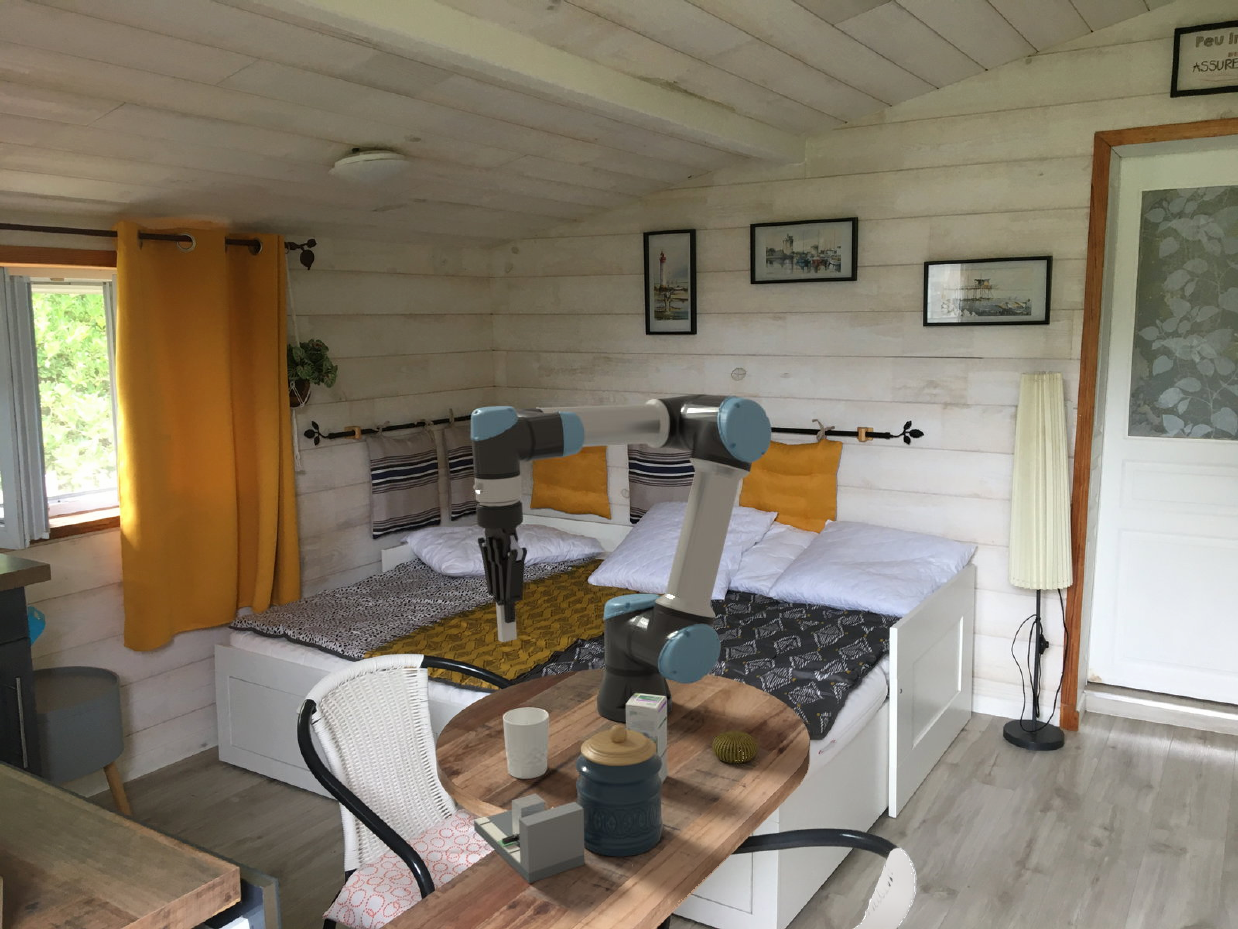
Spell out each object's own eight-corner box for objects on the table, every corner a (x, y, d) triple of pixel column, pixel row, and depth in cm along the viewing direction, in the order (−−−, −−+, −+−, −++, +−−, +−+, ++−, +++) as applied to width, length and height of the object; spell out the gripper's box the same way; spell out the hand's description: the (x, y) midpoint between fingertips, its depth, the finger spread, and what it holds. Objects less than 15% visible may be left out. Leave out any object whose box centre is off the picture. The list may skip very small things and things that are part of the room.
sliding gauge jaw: (498, 841, 150) (497, 804, 149) (536, 829, 153) (535, 793, 152) (507, 850, 147) (506, 812, 146) (546, 837, 151) (545, 801, 150)
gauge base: (474, 830, 157) (472, 778, 155) (526, 814, 161) (525, 763, 160) (529, 883, 142) (527, 826, 140) (584, 864, 146) (583, 808, 145)
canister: (559, 839, 154) (556, 727, 151) (616, 807, 163) (614, 702, 161) (623, 869, 145) (621, 751, 143) (680, 834, 155) (679, 723, 152)
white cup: (543, 782, 173) (541, 726, 171) (498, 779, 174) (496, 723, 173) (555, 762, 180) (553, 708, 179) (512, 759, 182) (510, 706, 180)
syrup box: (668, 775, 174) (667, 694, 172) (658, 790, 169) (657, 707, 167) (636, 771, 176) (635, 691, 174) (625, 786, 171) (624, 703, 169)
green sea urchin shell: (715, 746, 177) (708, 728, 185) (715, 768, 177) (709, 749, 185) (761, 744, 177) (752, 726, 185) (761, 766, 178) (752, 747, 186)
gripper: (460, 499, 170) (470, 634, 174) (497, 510, 159) (506, 654, 163) (500, 492, 174) (508, 625, 178) (538, 503, 164) (546, 644, 167)
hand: (507, 639), depth 171 cm, fingers closed
